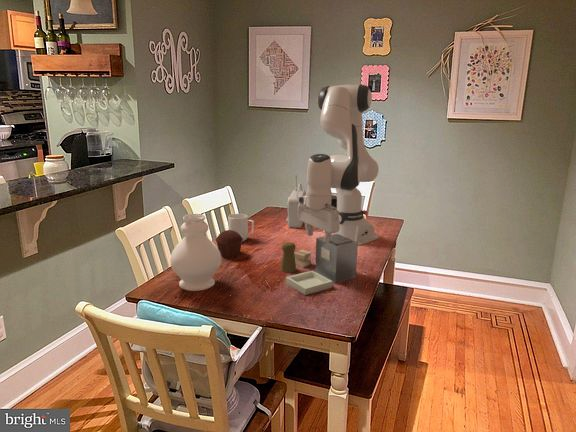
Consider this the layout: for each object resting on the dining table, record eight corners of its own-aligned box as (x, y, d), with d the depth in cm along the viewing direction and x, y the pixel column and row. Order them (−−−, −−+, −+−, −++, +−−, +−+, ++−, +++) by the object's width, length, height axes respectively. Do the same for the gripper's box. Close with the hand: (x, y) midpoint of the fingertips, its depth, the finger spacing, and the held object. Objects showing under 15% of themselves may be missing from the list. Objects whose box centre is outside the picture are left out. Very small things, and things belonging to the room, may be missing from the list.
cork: (280, 267, 188) (280, 240, 185) (295, 266, 188) (295, 240, 186) (281, 273, 182) (281, 245, 179) (297, 272, 183) (297, 245, 180)
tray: (312, 276, 180) (312, 270, 179) (332, 287, 170) (332, 281, 169) (285, 283, 173) (285, 277, 172) (305, 295, 163) (305, 288, 163)
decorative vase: (165, 279, 175) (161, 213, 168) (211, 270, 184) (209, 207, 177) (180, 298, 160) (176, 226, 154) (229, 287, 169) (228, 219, 162)
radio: (290, 217, 258) (290, 171, 251) (305, 217, 257) (306, 171, 250) (284, 228, 237) (284, 179, 230) (301, 229, 236) (301, 180, 229)
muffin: (246, 257, 198) (246, 234, 196) (220, 260, 194) (219, 237, 192) (238, 248, 209) (237, 226, 206) (213, 251, 205) (212, 228, 202)
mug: (225, 241, 218) (224, 217, 215) (233, 235, 226) (233, 212, 223) (249, 244, 214) (249, 220, 211) (257, 238, 222) (257, 215, 219)
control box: (335, 267, 188) (336, 232, 184) (356, 277, 179) (358, 241, 175) (314, 272, 183) (315, 237, 179) (334, 283, 173) (336, 246, 169)
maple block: (301, 261, 195) (301, 249, 193) (310, 264, 192) (311, 252, 190) (293, 264, 191) (293, 252, 190) (303, 267, 188) (303, 255, 187)
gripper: (344, 206, 161) (343, 245, 165) (308, 194, 178) (308, 230, 181) (330, 208, 158) (329, 248, 162) (294, 196, 174) (294, 232, 178)
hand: (317, 238), depth 172 cm, fingers open, 8 cm apart
